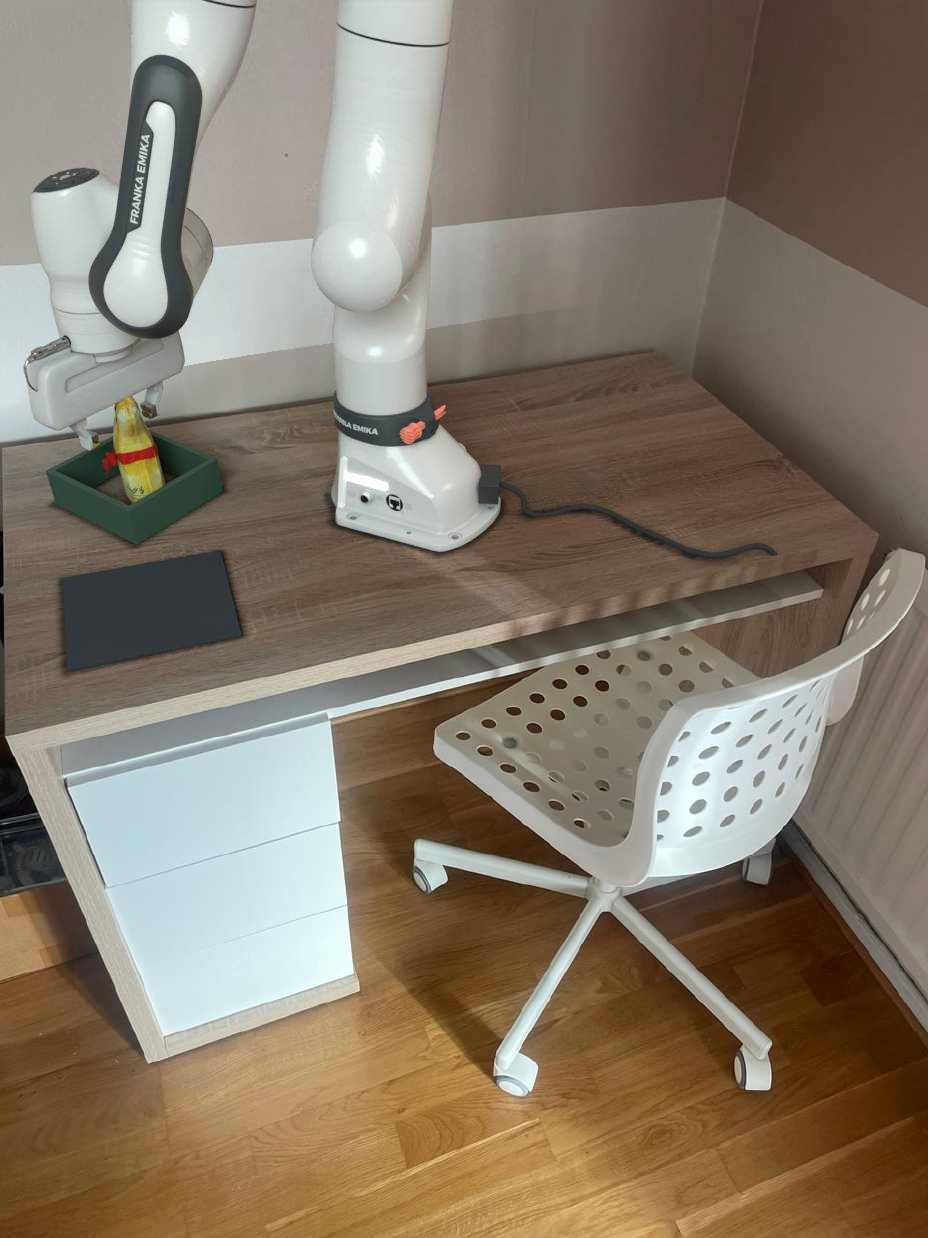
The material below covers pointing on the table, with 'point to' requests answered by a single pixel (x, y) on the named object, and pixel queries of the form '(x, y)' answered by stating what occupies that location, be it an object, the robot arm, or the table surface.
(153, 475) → the chocolate bunny
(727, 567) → the table surface
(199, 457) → the crate
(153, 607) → the mat
